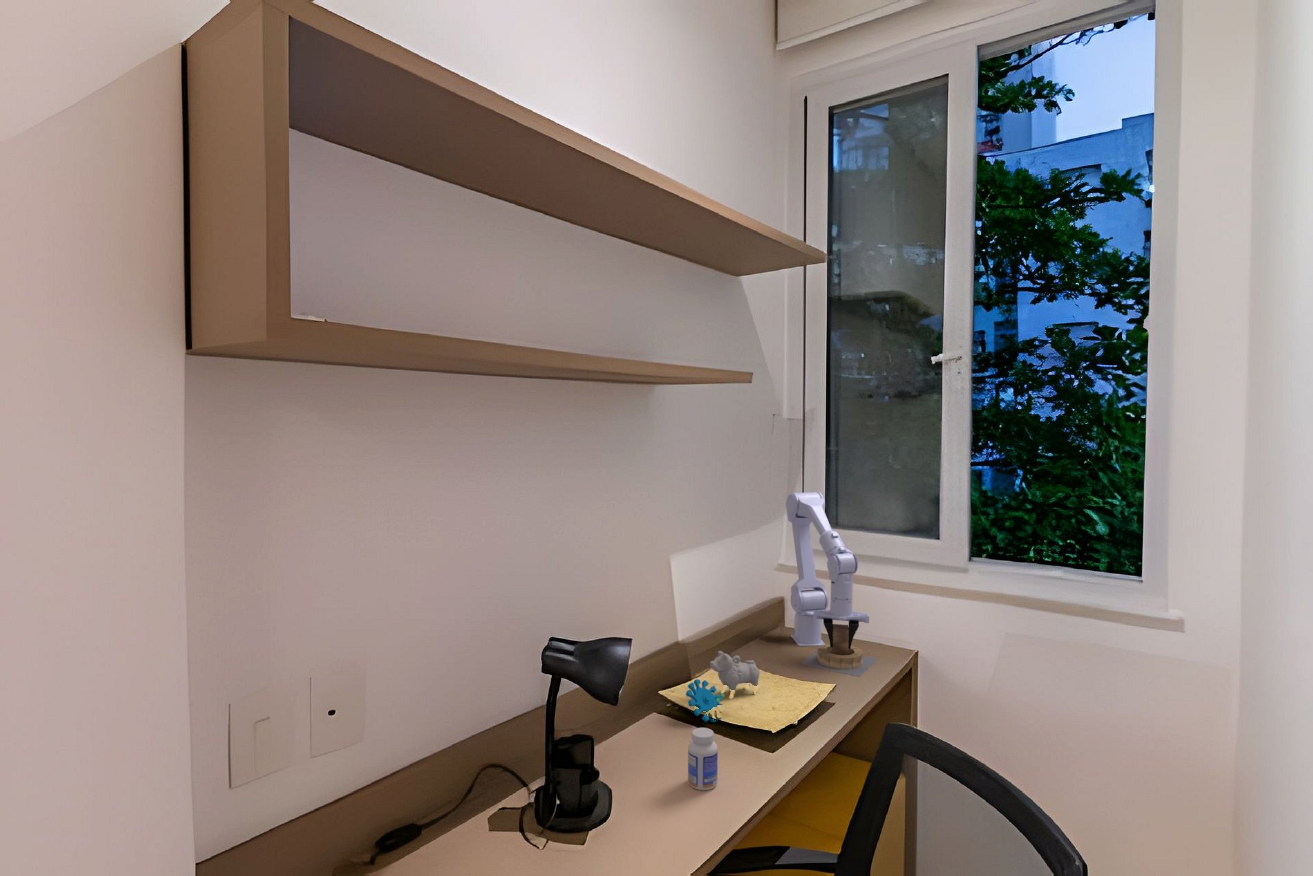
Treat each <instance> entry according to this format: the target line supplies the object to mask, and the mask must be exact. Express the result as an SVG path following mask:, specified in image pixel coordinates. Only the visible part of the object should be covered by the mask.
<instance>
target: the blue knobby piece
mask: <svg viewBox="0 0 1313 876" xmlns="http://www.w3.org/2000/svg"><path fill="white" fill-rule="evenodd" d="M700 684H701V686H700ZM708 685H709V682H708V680H706V679H704V680H703V681H702V682H701V680H700V679H698V678H697V679H695V680H693V682H690V683H689V684H688V685H687V688H688V690H687V691H686V692H685V696H686V697H688V698H690V699H689V700H688V701H687V703H688V707H695V706H696V707H698V708H699V709H695V710H694V713H693V712H692V711H690V712H691V713H692V714H694V715H695V716H696V717H698V716H699V715H700V714H701V713H704V712H703V711H706V712H708V711H709V710H711V709H712V708H713V707H717V705H722V704H723V703H720V702H721V701H722V700H723V698H724V697H725V693H719V694H717V695H716V694H714V693H715V692H716V691H717V687H715V686H714V685H711V687H710V688H709V689H708V688H706V687H707V686H708ZM701 720H702V721H704V722H705V723H707V722H708V721H709V720H710V723H716V722H717V721H716V720H714V719H711V718H710V717H709V716H707V714H706V715H705V714H704V715H703V716H701Z"/></svg>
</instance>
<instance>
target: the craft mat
mask: <svg viewBox="0 0 1313 876" xmlns="http://www.w3.org/2000/svg"><path fill="white" fill-rule="evenodd" d="M878 660H879V658H876V657H870V656H866V655H863V663H862V665H861V667H858V668H854V669H837V668H831V667H828V666H825V665H823V664H821V663H820V662H819V661H818V650H817V651H816V652H814V653H813V654H812V655H810V656H809V657H808V658H806V659H805V660H804V661H802V662H801V663H800V665H802V666H803V665H804V666H808V667H813V668H817V669H821V670H826V671H831V672H836V673H840V674H844V675H849V676H853V677H857V678H858V677H859V678H860V677H861V676H862V675H863V674H865V673H866V672H867V671H868V670H869V669H870V668H871V667H872V665H874V664H875V663H876V662H877V661H878Z"/></svg>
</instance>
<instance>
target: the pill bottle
mask: <svg viewBox="0 0 1313 876" xmlns="http://www.w3.org/2000/svg"><path fill="white" fill-rule="evenodd" d="M691 739H692V740H691V742H689V744H688V747H687V748H688V749H687V755H688V757H687V765H688V766H687V778H688V779H687V780H688V781H687V782H688V785H689V786H690V787H691V788H693V789H695V790H698V791H710V790H712V789H714V788H716V786H717V785H718V769H719V768H718V762H719V761H718V758H719V756H718V744H717V743H716V742H715V741H714V740H715V734H714V730H712V729H710V728H708V727H698V728H695V729H693V730H692V732H691Z"/></svg>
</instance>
